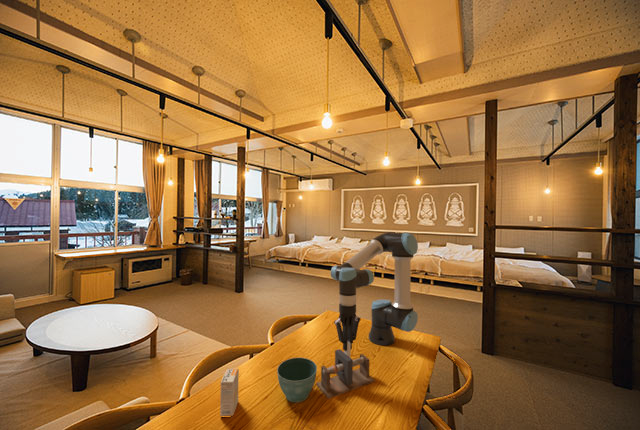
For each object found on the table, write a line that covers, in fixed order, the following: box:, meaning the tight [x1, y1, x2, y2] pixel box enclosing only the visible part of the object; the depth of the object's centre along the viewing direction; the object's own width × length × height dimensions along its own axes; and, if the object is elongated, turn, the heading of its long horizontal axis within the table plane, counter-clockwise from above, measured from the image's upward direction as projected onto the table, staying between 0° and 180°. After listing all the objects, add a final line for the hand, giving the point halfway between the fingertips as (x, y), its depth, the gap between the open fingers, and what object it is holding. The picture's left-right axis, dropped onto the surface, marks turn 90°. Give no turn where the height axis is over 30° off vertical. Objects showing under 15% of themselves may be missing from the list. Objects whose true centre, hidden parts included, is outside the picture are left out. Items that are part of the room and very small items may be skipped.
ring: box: [334, 348, 354, 385], centre depth 110 cm, size 2×10×10 cm, turn 28°
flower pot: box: [276, 357, 318, 404], centre depth 103 cm, size 16×16×11 cm
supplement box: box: [219, 368, 240, 417], centre depth 95 cm, size 8×5×13 cm, turn 5°
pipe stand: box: [316, 353, 376, 400], centre depth 111 cm, size 24×10×9 cm, turn 118°
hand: (347, 357), depth 111 cm, fingers closed
